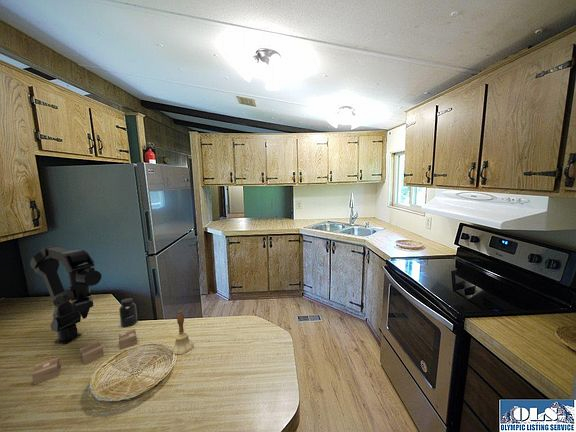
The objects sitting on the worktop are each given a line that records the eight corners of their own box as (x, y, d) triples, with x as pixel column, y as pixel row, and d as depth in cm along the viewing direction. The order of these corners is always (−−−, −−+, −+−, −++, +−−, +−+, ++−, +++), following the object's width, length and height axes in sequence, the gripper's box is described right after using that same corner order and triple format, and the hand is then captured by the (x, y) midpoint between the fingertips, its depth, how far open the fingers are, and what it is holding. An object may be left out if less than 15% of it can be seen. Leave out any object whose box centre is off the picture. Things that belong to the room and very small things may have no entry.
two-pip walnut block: (119, 342, 104) (118, 333, 104) (136, 337, 108) (135, 328, 107) (120, 350, 99) (118, 340, 99) (137, 344, 103) (136, 335, 102)
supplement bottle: (129, 328, 114) (126, 304, 113) (117, 326, 116) (114, 303, 114) (141, 320, 121) (138, 297, 120) (129, 318, 123) (126, 296, 121)
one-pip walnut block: (38, 374, 87) (36, 364, 87) (60, 366, 91) (59, 356, 90) (34, 385, 83) (32, 374, 82) (58, 376, 86) (56, 365, 86)
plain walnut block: (80, 358, 95) (79, 349, 95) (99, 350, 100) (98, 341, 99) (84, 365, 91) (82, 355, 91) (103, 356, 96) (102, 347, 95)
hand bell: (182, 339, 104) (179, 304, 102) (198, 343, 101) (194, 307, 99) (166, 352, 97) (162, 314, 95) (182, 356, 94) (179, 318, 92)
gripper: (52, 281, 99) (58, 317, 101) (50, 295, 85) (57, 336, 87) (87, 274, 107) (92, 307, 109) (90, 286, 93) (96, 324, 95)
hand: (84, 318), depth 100 cm, fingers closed
